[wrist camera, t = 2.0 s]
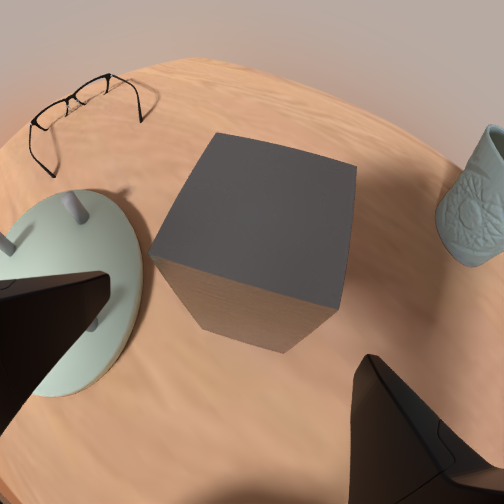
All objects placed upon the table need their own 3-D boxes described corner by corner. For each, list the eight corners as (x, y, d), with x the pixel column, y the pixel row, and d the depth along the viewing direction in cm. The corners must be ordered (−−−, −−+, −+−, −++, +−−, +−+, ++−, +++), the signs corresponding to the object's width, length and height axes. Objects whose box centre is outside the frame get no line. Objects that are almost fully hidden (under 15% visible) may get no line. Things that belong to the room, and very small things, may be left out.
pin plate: (171, 374, 17) (151, 371, 13) (-2, 402, 14) (-32, 397, 10) (130, 172, 26) (117, 141, 22) (-3, 233, 22) (-23, 214, 18)
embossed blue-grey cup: (487, 221, 24) (541, 162, 14) (490, 290, 20) (567, 235, 10) (429, 183, 26) (477, 107, 16) (424, 252, 22) (502, 170, 11)
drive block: (283, 353, 18) (338, 309, 7) (202, 329, 19) (147, 253, 8) (303, 276, 21) (356, 164, 10) (229, 255, 22) (217, 130, 11)
